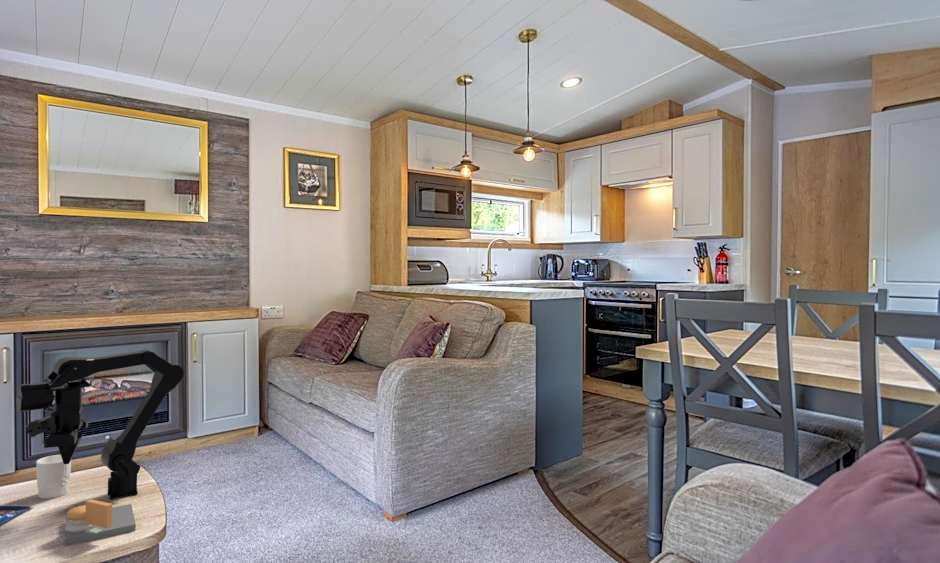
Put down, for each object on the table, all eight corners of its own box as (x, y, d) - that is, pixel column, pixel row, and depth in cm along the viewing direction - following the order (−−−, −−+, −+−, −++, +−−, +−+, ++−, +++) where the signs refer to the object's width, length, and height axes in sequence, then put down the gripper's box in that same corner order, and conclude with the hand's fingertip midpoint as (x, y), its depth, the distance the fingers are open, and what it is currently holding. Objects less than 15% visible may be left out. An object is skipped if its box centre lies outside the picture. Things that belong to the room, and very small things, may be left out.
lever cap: (61, 523, 125) (62, 501, 125) (83, 514, 130) (84, 492, 130) (98, 532, 121) (99, 509, 121) (119, 522, 126) (120, 500, 126)
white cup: (31, 501, 143) (32, 465, 143) (39, 491, 150) (40, 456, 150) (67, 497, 146) (68, 461, 146) (73, 486, 153) (74, 452, 153)
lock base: (131, 509, 140) (131, 494, 140) (135, 530, 128) (136, 514, 128) (66, 522, 131) (66, 506, 131) (64, 547, 120) (65, 529, 120)
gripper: (40, 400, 144) (38, 456, 144) (18, 416, 127) (16, 480, 127) (89, 396, 149) (88, 451, 149) (74, 412, 132) (73, 474, 132)
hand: (66, 463), depth 139 cm, fingers closed
